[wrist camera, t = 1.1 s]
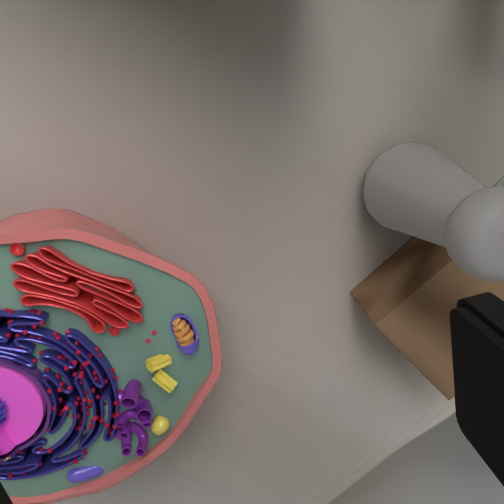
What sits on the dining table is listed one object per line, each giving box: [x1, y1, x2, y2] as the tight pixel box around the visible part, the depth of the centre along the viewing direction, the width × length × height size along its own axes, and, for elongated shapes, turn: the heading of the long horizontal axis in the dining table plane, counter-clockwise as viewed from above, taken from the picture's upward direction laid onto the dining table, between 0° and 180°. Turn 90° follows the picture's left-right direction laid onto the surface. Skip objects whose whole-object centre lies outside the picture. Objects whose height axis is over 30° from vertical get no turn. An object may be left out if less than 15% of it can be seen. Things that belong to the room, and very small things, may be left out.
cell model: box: [0, 209, 222, 504], centre depth 27 cm, size 17×20×11 cm
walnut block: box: [350, 237, 504, 400], centre depth 33 cm, size 9×9×5 cm
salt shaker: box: [363, 142, 504, 282], centre depth 26 cm, size 6×6×13 cm
